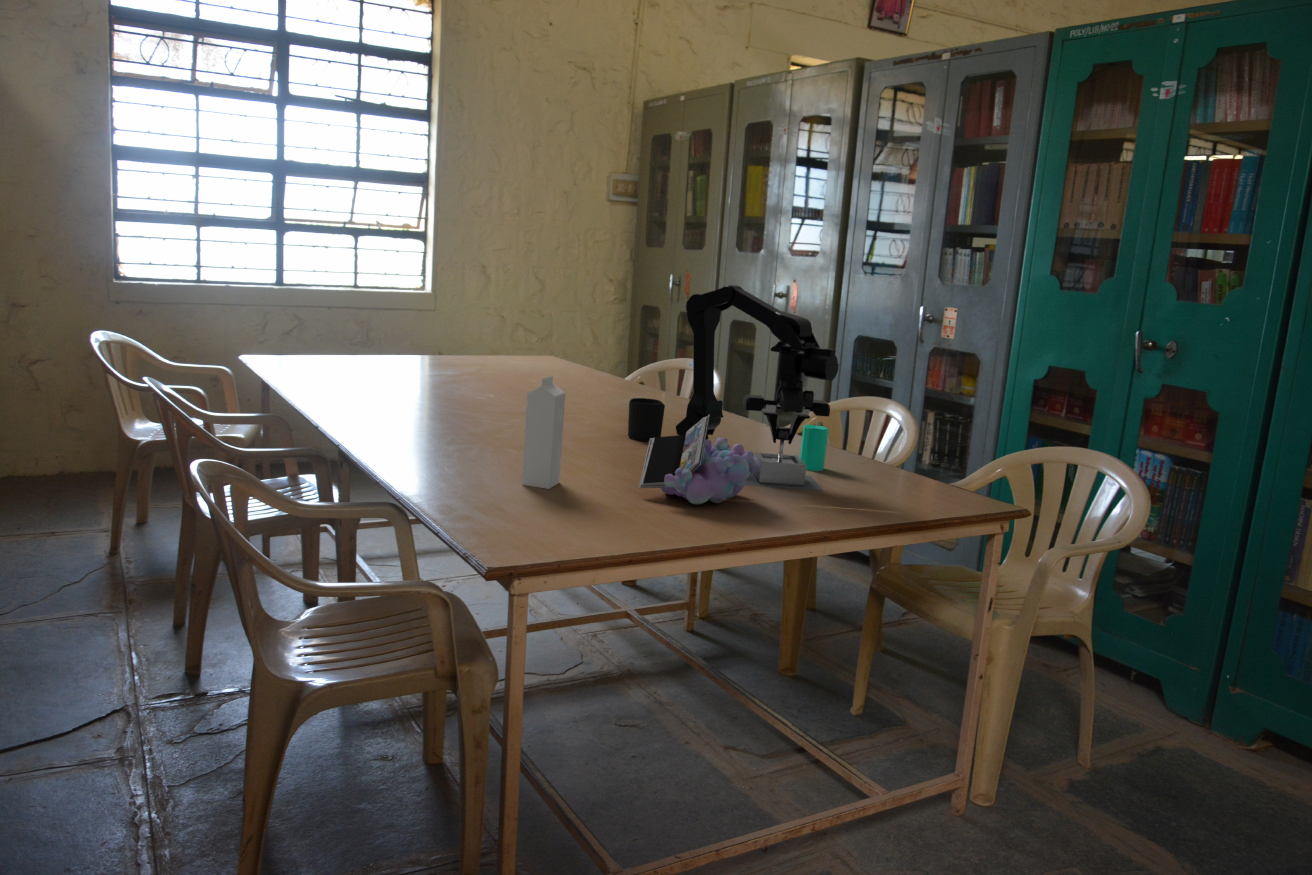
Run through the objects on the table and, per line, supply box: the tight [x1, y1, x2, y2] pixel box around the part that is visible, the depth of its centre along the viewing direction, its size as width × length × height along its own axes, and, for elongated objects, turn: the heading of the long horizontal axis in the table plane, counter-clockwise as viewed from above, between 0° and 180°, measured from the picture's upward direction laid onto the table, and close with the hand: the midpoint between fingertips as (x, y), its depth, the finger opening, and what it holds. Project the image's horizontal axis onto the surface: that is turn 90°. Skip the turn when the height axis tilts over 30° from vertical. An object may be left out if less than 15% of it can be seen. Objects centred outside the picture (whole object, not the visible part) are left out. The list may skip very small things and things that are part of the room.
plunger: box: [763, 426, 794, 463], centre depth 212 cm, size 7×7×8 cm
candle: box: [799, 421, 829, 472], centre depth 229 cm, size 6×6×12 cm
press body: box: [753, 451, 807, 487], centre depth 213 cm, size 13×10×5 cm
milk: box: [521, 375, 566, 490], centre depth 190 cm, size 6×6×22 cm
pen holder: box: [627, 397, 666, 442], centre depth 249 cm, size 9×9×10 cm
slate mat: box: [745, 473, 825, 492], centre depth 213 cm, size 18×14×1 cm
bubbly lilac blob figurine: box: [638, 414, 762, 505], centre depth 190 cm, size 20×22×18 cm
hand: (781, 443), depth 212 cm, fingers closed on plunger, 3 cm apart
